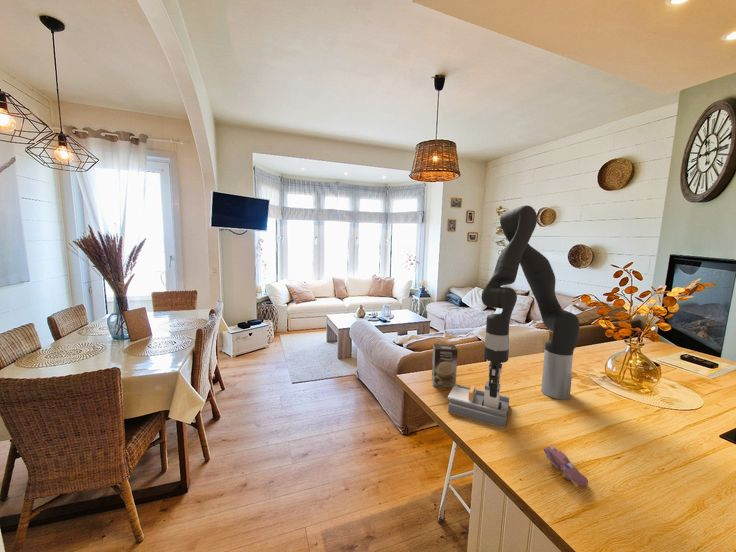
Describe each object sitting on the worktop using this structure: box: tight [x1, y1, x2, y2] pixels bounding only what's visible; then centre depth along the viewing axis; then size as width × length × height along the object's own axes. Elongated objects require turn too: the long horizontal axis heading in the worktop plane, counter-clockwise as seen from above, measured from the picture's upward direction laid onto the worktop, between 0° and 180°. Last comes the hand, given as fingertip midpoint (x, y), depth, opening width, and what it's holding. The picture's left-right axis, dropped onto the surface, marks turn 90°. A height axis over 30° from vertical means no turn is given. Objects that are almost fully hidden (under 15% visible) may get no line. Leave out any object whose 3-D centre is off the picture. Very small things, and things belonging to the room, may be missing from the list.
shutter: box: [447, 384, 476, 403], centre depth 108 cm, size 8×9×4 cm
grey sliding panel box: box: [447, 384, 510, 429], centre depth 105 cm, size 18×15×4 cm
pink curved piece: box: [543, 445, 589, 487], centre depth 76 cm, size 10×5×7 cm, turn 8°
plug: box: [483, 380, 501, 410], centre depth 103 cm, size 4×4×10 cm
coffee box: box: [431, 343, 459, 388], centre depth 123 cm, size 9×6×16 cm
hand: (494, 391), depth 102 cm, fingers open, 8 cm apart
